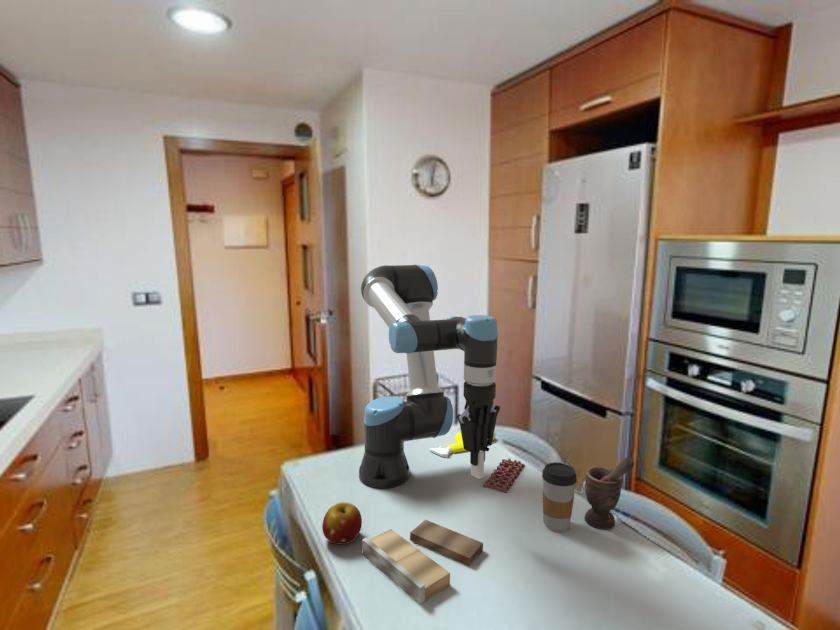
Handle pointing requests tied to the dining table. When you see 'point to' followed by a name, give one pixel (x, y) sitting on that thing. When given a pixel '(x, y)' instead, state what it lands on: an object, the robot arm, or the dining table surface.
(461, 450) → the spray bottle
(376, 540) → the plank row
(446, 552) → the walnut plank
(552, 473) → the coffee cup
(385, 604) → the dining table surface
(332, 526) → the fruit
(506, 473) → the chocolate bar
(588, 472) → the mortar and pestle
